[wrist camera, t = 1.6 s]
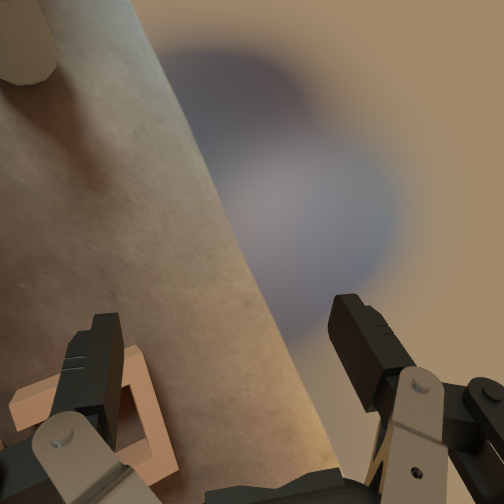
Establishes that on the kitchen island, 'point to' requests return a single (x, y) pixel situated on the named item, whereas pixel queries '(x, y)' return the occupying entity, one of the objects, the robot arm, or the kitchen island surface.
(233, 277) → the kitchen island surface
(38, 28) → the salt shaker
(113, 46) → the kitchen island surface
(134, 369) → the frame
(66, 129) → the kitchen island surface
